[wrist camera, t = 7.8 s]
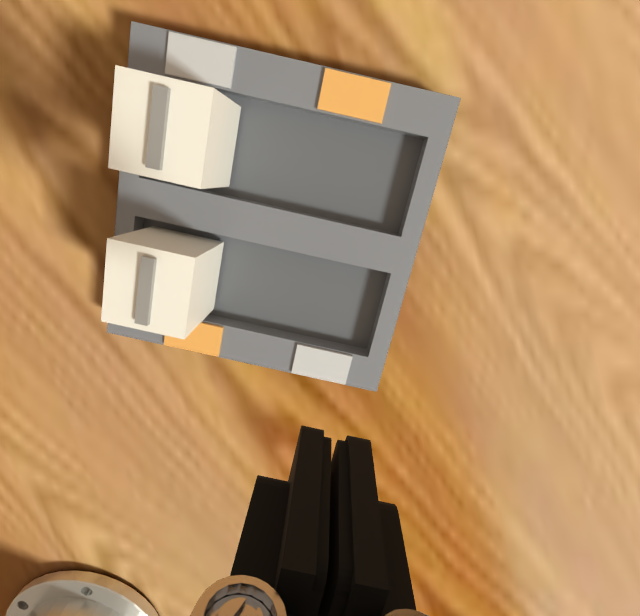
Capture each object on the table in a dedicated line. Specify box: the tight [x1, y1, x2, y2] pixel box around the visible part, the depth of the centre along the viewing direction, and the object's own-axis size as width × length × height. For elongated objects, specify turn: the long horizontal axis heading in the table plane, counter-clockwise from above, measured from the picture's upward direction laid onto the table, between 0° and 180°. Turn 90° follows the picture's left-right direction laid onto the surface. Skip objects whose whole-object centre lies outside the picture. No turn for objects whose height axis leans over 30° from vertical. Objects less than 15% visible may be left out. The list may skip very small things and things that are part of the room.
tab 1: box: [108, 65, 241, 189], centre depth 20 cm, size 4×4×5 cm
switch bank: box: [107, 21, 461, 392], centre depth 24 cm, size 16×16×2 cm
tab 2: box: [101, 226, 224, 339], centre depth 22 cm, size 4×4×5 cm
